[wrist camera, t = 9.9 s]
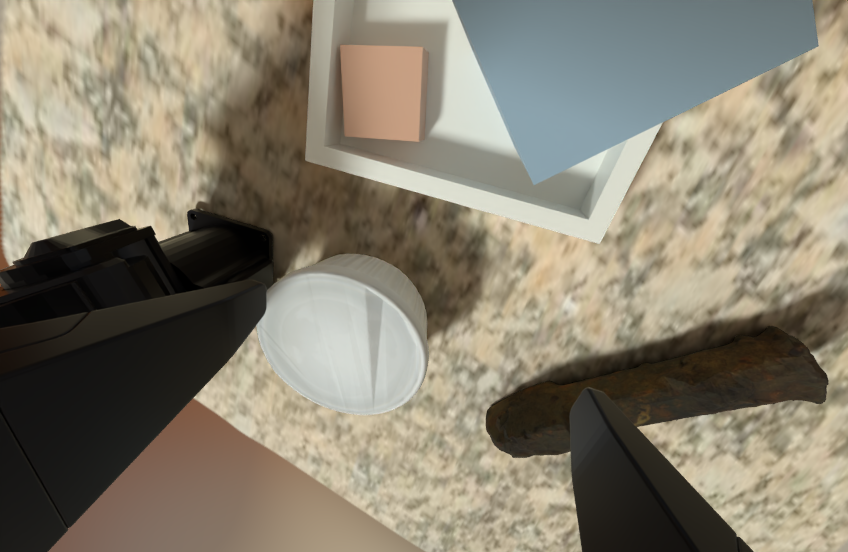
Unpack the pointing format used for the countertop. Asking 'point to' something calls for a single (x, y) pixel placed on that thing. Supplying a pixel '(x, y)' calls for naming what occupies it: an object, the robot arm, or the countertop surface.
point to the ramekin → (347, 334)
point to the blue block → (619, 64)
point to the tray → (453, 126)
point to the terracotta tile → (384, 91)
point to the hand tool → (665, 391)
